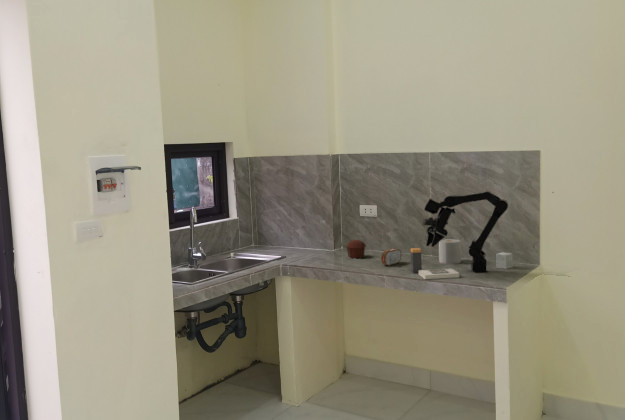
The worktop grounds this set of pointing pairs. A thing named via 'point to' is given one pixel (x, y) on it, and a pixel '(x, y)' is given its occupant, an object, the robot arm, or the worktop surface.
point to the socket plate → (438, 273)
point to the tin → (391, 256)
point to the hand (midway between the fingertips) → (429, 246)
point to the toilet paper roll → (450, 251)
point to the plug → (416, 260)
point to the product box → (504, 260)
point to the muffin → (356, 249)
